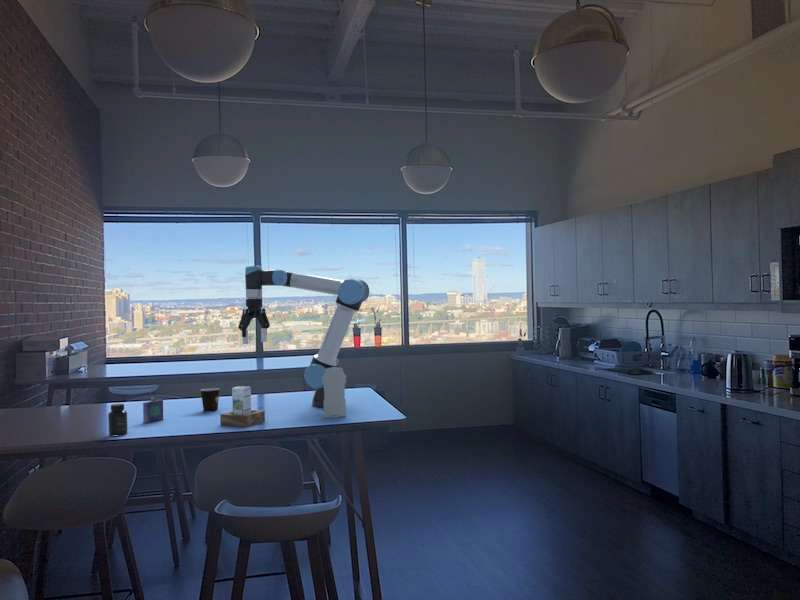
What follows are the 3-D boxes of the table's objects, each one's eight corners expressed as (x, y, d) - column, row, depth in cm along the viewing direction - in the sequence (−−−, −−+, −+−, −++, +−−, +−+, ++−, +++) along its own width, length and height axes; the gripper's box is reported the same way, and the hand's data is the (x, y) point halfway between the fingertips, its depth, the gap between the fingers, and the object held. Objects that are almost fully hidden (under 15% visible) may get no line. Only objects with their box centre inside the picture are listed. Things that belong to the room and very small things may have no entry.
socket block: (241, 419, 276) (240, 408, 276) (264, 421, 270) (264, 410, 270) (220, 424, 264) (220, 414, 264) (244, 427, 259) (244, 416, 259)
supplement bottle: (129, 432, 254) (128, 402, 253) (124, 436, 247) (124, 405, 247) (111, 433, 252) (110, 403, 252) (106, 437, 246) (105, 406, 246)
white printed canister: (252, 419, 269) (251, 386, 269) (243, 422, 263) (242, 388, 263) (241, 419, 271) (240, 385, 271) (232, 421, 265) (231, 387, 265)
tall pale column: (346, 415, 280) (345, 366, 280) (347, 417, 276) (346, 367, 276) (322, 416, 278) (321, 367, 277) (323, 418, 274) (322, 368, 273)
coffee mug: (208, 412, 293) (208, 391, 293) (197, 411, 298) (196, 390, 298) (228, 408, 303) (228, 388, 302) (217, 407, 308) (217, 386, 308)
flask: (145, 423, 271) (144, 398, 271) (141, 422, 273) (141, 398, 273) (164, 420, 278) (164, 395, 278) (161, 419, 280) (160, 395, 280)
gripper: (264, 298, 312) (265, 340, 312) (229, 298, 289) (230, 344, 289) (276, 297, 308) (277, 341, 308) (242, 298, 286) (243, 345, 286)
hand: (254, 343), depth 299 cm, fingers open, 13 cm apart
